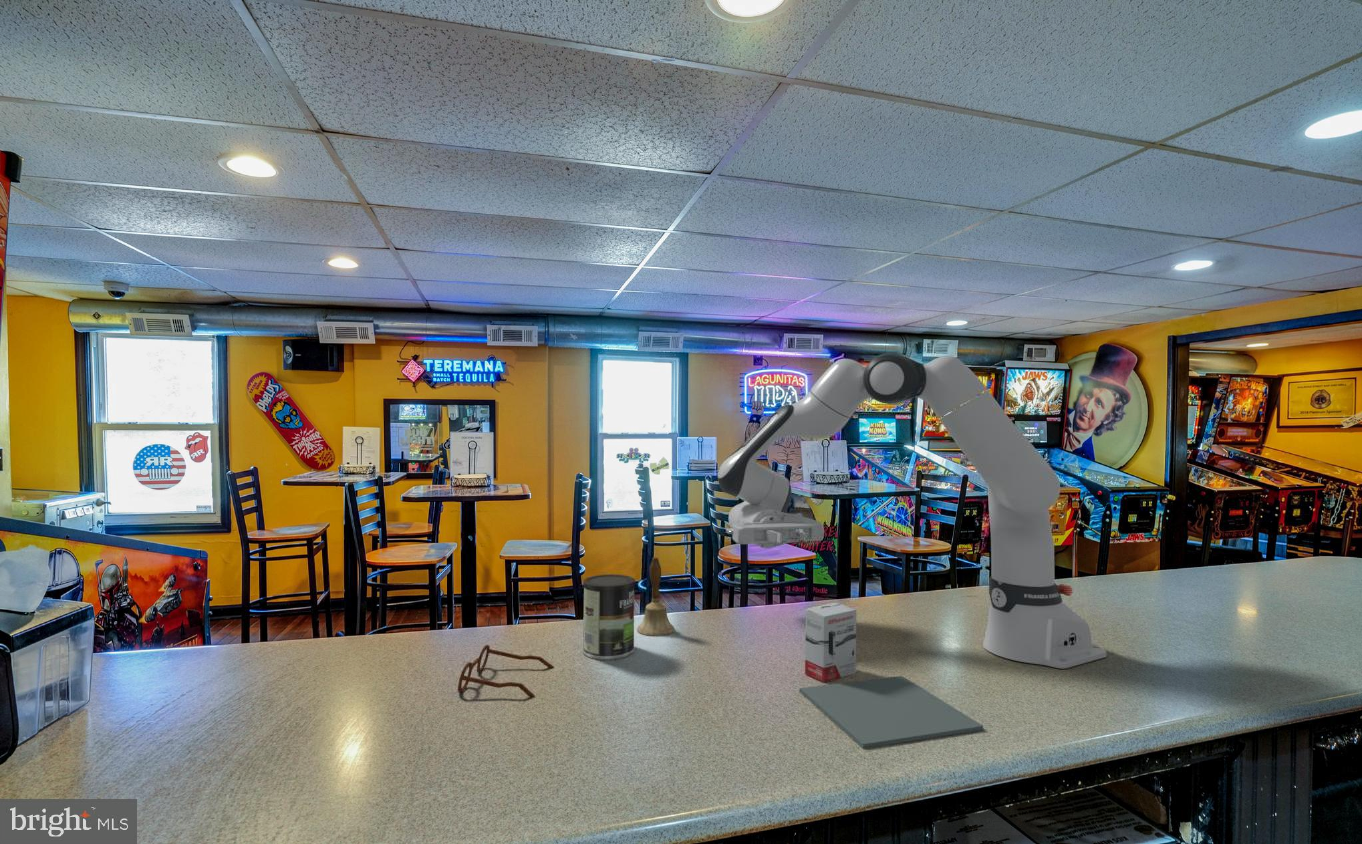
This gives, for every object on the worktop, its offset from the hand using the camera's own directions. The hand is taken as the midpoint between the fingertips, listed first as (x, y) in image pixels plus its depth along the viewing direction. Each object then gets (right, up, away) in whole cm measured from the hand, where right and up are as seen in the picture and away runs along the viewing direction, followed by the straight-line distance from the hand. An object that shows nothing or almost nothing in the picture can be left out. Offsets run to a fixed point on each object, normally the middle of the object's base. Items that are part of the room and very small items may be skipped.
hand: (793, 538), depth 123 cm
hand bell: (-29, -22, +9) cm, 38 cm away
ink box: (+4, -22, -15) cm, 27 cm away
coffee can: (-38, -22, -4) cm, 44 cm away
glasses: (-53, -22, -19) cm, 61 cm away
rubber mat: (+9, -21, -29) cm, 37 cm away
